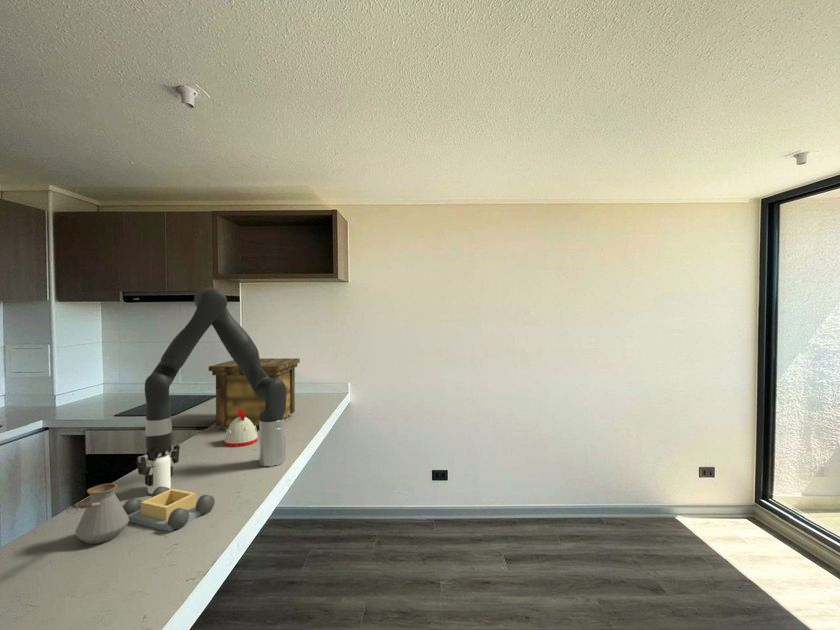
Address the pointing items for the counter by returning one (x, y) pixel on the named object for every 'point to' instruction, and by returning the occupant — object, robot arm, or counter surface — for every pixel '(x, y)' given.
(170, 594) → the counter surface
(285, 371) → the crate
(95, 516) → the coffee pot
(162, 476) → the can
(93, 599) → the counter surface
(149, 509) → the chassis
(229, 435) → the kitchen timer
